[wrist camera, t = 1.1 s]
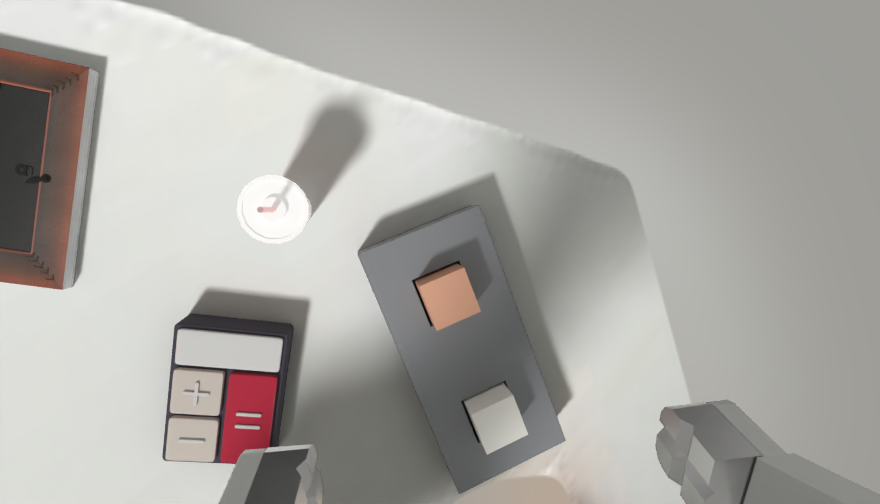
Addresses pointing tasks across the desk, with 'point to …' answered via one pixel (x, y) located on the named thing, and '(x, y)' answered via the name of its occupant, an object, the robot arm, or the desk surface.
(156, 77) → the desk surface
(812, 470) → the robot arm
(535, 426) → the console
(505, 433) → the key white
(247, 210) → the beverage cup
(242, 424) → the calculator
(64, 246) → the picture frame
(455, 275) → the key terracotta
